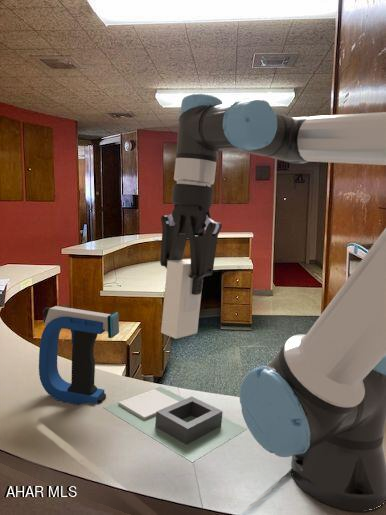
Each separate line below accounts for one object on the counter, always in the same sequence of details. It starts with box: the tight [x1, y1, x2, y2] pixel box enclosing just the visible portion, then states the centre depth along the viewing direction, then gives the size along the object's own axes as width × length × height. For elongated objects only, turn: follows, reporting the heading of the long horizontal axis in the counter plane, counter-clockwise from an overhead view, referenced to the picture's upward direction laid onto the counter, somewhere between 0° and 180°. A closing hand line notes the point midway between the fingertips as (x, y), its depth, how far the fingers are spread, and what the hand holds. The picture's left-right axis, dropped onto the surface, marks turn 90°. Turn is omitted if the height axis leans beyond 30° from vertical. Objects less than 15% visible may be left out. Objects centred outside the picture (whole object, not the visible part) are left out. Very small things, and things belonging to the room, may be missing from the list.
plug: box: [160, 258, 204, 340], centre depth 79 cm, size 4×6×14 cm, turn 138°
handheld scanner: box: [38, 305, 120, 406], centre depth 87 cm, size 5×16×20 cm, turn 79°
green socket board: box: [103, 386, 248, 463], centre depth 82 cm, size 24×16×4 cm, turn 48°
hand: (181, 307), depth 80 cm, fingers closed on plug, 4 cm apart
